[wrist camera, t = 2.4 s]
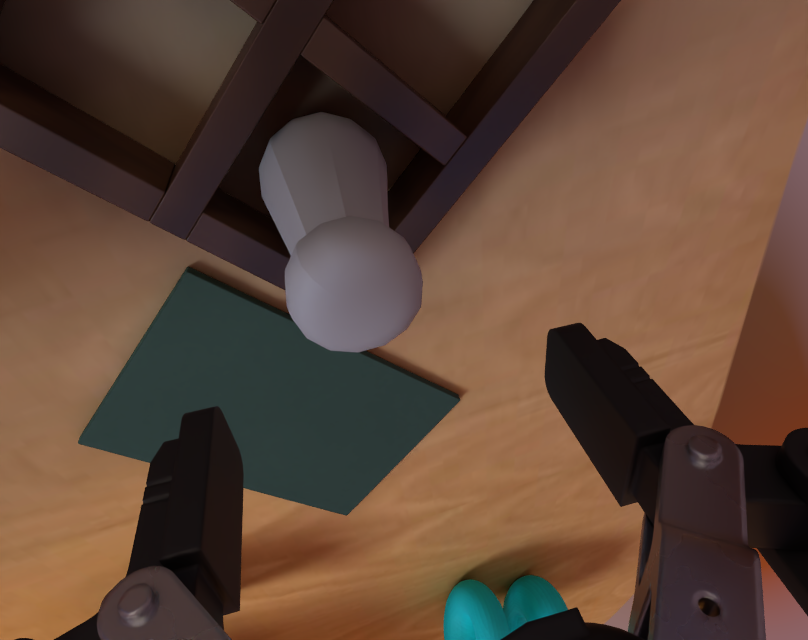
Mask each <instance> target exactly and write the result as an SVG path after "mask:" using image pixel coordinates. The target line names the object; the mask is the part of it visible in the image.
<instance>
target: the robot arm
mask: <svg viewBox="0 0 808 640" xmlns="http://www.w3.org/2000/svg"><path fill="white" fill-rule="evenodd" d="M545 383H546V387H547V390H548V393H549V395H550V397H551V399H552V401H553V402H554V404H555V405H556V407H557V409H558V410H559V412H560V413H561V415H562V416H563V418H564V419H565V421H566V423H567V424H568V426H569V427H570V429H571V430H572V432H573V433H574V435H575V437H576V438H577V440H578V441H579V443H580V444H581V446H582V447H583V449H584V451H585V452H586V454H587V455H588V457H589V458H590V460H591V461H592V463H593V465H594V466H595V468H596V469H597V471H598V472H599V474H600V475H601V477H602V479H603V480H604V482H605V483H606V485H607V486H608V488H609V489H610V491H611V492H612V494H613V496H614V497H615V499H616V500H617V502H618V503H619V505H620V506H621V507H622V506H625V505H629V504H632V503H636V502H638V503H639V505H640V506H641V508H642V509H643V511H644V512H645V513H644V517H643V522H642V531H641V540H640V549H639V558H638V567H637V576H636V585H635V593H634V601H633V605H632V610H631V615H630V620H629V626H628V632H627V631H625V630H622V629H620V628H616V627H612V626H608V625H604V624H597V623H585V622H584V620H583V618H582V616H581V614H580V612H579V610H578V608H577V607H576V608H573V609H569V610H566V611H563V612H559V613H556V614H553V615H549V616H546V617H543V618H539V619H536V620H533V621H529V622H526V623H525V624H523V625H522V626H520V627H519V628H517V629H516V630H514V631H513V632H511V633H510V634H508V635H507V636H505V637H504V638H502V639H501V640H766V634H765V619H764V605H763V590H762V576H761V564H760V558H759V554H758V552H757V551H756V550H755V549H752V548H757V549H758V550H759V552H760V553H761V554H762V556H763V557H764V558H765V560H766V561H767V562H768V564H769V565H770V566H771V568H772V569H773V570H774V572H775V573H776V574H777V576H778V577H779V578H780V579H781V581H782V582H783V584H784V585H785V586H786V588H787V589H788V590H789V592H790V593H791V594H792V596H793V597H794V598H795V600H796V601H797V602H798V604H799V605H800V606H801V608H802V609H803V610H804V612H805V613H806V614H807V616H808V428H800V429H797V430H794V431H792V432H791V433H789V434H788V435H787V437H786V438H785V441H784V442H783V444H782V446H770V445H769V446H767V445H740V444H734V442H733V441H731V440H730V439H729V438H728V437H726V436H725V435H723V434H722V433H720V432H718V431H716V430H713V429H711V428H707V427H703V426H697V425H694V424H693V423H692V422H691V421H690V420H689V419H688V418H687V417H686V416H685V415H684V413H683V412H682V411H681V410H680V409H679V408H678V407H677V406H676V405H675V403H674V402H673V401H672V400H671V399H670V398H669V397H668V396H667V395H666V394H665V392H664V391H663V390H662V389H661V388H660V387H659V386H658V385H657V384H656V382H655V381H654V380H653V379H650V377H649V375H648V374H647V373H646V371H645V370H644V369H643V368H642V367H639V365H638V363H637V361H636V360H635V359H634V358H633V357H632V356H631V355H630V354H629V353H628V352H627V350H626V349H624V348H623V347H621V346H619V345H617V344H616V343H614V342H612V341H610V340H608V339H607V338H603V339H599V340H596V338H595V337H594V336H593V335H592V334H591V333H590V331H589V330H588V329H587V328H586V327H585V326H584V325H583V324H582V323H575V324H571V325H567V326H562V327H558V328H554V329H550V330H549V332H548V336H547V349H546V363H545ZM243 481H244V471H243V462H242V457H241V453H240V450H239V448H238V445H237V443H236V441H235V439H234V437H233V434H232V432H231V430H230V428H229V426H228V423H227V421H226V419H225V417H224V415H223V412H222V410H221V409H220V408H219V407H218V406H215V407H210V408H206V409H202V410H197V411H193V412H189V413H185V414H184V415H183V416H182V420H181V426H180V432H179V438H178V439H174V440H170V441H165V442H164V443H163V444H162V446H161V447H160V449H159V450H158V452H157V453H156V455H155V456H154V458H153V459H152V461H151V463H150V468H149V472H148V477H147V482H146V484H147V487H145V491H144V496H143V505H142V506H141V511H140V515H139V520H138V525H137V530H136V534H135V539H134V544H133V549H132V554H131V558H130V563H129V568H128V571H127V575H126V577H125V578H124V579H123V580H121V581H120V582H119V583H118V584H117V585H116V586H115V587H114V588H113V589H112V590H111V591H110V593H109V594H108V595H107V597H106V598H105V600H104V602H103V604H102V606H101V608H100V611H99V612H98V613H97V614H96V615H94V616H93V617H92V618H90V619H88V620H87V621H85V622H84V623H82V624H80V625H78V626H77V627H75V628H73V629H71V630H70V631H68V632H66V633H65V634H63V635H61V636H59V637H58V638H56V639H54V640H232V639H231V638H230V637H229V636H228V635H227V634H226V633H225V632H224V630H223V629H222V625H223V615H227V614H230V613H234V612H237V611H240V585H241V550H242V515H243ZM15 640H33V639H29V638H19V639H15Z"/></svg>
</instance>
